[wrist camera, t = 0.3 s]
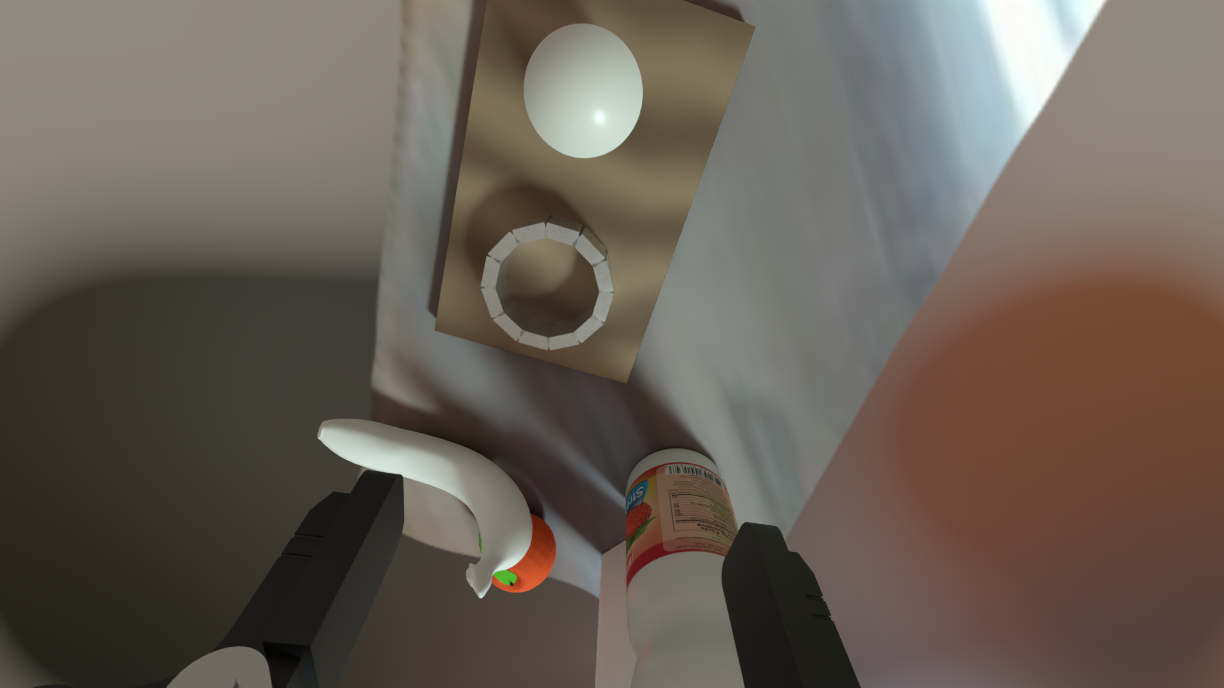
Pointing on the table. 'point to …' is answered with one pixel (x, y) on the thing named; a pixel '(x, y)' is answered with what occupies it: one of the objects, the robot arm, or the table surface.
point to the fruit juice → (679, 573)
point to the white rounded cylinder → (583, 90)
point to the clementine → (529, 561)
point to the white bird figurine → (445, 484)
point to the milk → (614, 624)
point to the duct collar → (515, 316)
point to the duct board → (585, 174)
